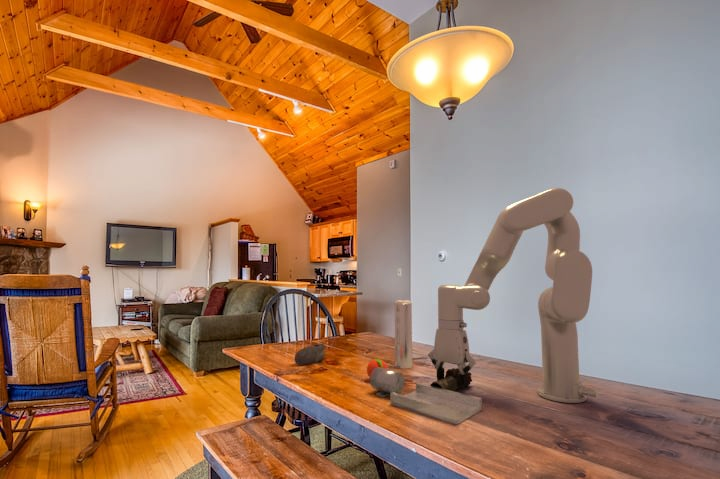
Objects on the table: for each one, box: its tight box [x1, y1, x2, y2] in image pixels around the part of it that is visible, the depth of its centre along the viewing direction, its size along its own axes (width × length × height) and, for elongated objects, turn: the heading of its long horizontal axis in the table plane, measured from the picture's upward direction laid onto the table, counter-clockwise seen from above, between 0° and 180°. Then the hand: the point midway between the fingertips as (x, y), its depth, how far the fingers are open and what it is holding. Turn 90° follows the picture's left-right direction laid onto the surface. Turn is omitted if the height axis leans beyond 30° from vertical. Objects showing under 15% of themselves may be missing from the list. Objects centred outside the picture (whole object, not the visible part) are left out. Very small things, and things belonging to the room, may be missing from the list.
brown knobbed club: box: [429, 367, 473, 392], centre depth 116 cm, size 18×7×6 cm, turn 134°
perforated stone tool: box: [294, 343, 326, 366], centre depth 150 cm, size 15×5×7 cm, turn 135°
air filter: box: [394, 299, 413, 370], centre depth 145 cm, size 6×6×25 cm
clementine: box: [366, 358, 388, 378], centre depth 126 cm, size 8×7×7 cm
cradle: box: [389, 382, 483, 425], centre depth 102 cm, size 20×13×3 cm
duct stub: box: [369, 367, 406, 398], centre depth 113 cm, size 8×7×7 cm
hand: (451, 383), depth 116 cm, fingers closed on brown knobbed club, 6 cm apart
